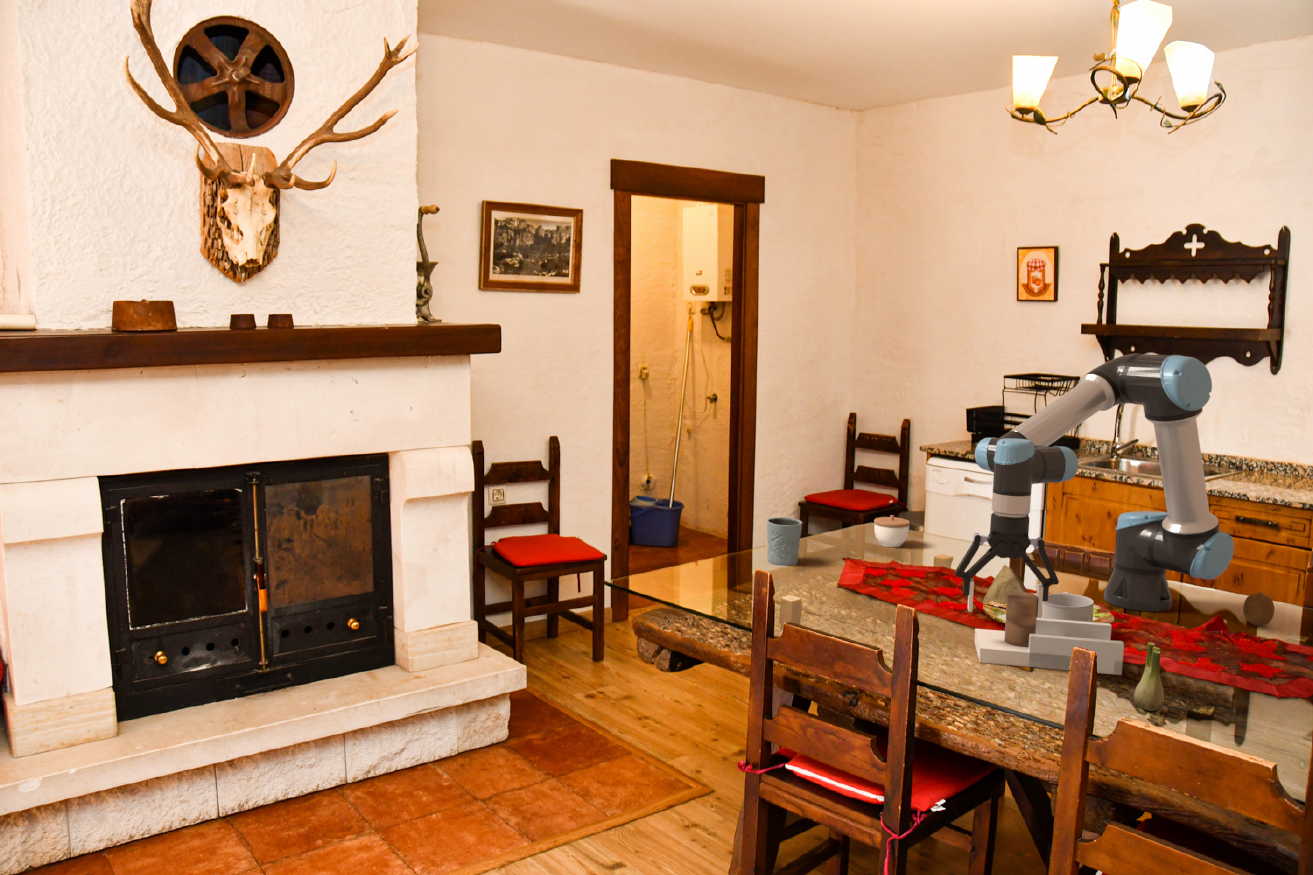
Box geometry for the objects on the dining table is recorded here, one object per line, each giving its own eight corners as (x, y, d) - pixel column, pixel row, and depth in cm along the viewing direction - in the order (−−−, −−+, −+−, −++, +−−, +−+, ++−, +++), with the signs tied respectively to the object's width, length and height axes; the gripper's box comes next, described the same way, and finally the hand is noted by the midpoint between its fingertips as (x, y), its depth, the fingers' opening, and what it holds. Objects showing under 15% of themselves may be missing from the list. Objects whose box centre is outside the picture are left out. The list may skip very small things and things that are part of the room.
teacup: (1087, 644, 212) (1090, 608, 211) (1035, 635, 217) (1037, 600, 216) (1097, 627, 223) (1099, 593, 222) (1047, 618, 229) (1049, 585, 228)
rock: (1045, 603, 234) (1021, 586, 243) (1030, 578, 231) (1006, 562, 240) (1010, 630, 233) (987, 612, 243) (994, 605, 230) (972, 588, 240)
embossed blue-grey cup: (776, 555, 286) (777, 515, 284) (807, 561, 280) (808, 520, 278) (759, 562, 278) (760, 521, 276) (790, 568, 272) (791, 526, 270)
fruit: (1235, 623, 227) (1238, 590, 226) (1253, 620, 230) (1256, 587, 229) (1260, 631, 222) (1264, 597, 221) (1279, 628, 224) (1282, 594, 223)
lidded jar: (874, 548, 296) (875, 518, 295) (872, 540, 307) (873, 511, 306) (910, 550, 295) (911, 519, 294) (907, 541, 305) (908, 512, 304)
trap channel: (1107, 653, 206) (1109, 623, 205) (1121, 675, 194) (1124, 643, 193) (974, 641, 212) (976, 612, 211) (979, 662, 200) (981, 631, 199)
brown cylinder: (1034, 639, 205) (1037, 593, 204) (1035, 648, 200) (1038, 601, 198) (1004, 635, 207) (1007, 590, 206) (1004, 644, 202) (1007, 598, 200)
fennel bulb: (1158, 716, 174) (1163, 652, 172) (1128, 709, 177) (1133, 645, 175) (1167, 707, 178) (1172, 644, 176) (1138, 699, 181) (1143, 637, 180)
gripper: (1071, 514, 202) (1064, 613, 204) (946, 506, 207) (941, 602, 210) (1078, 521, 194) (1070, 623, 197) (948, 512, 200) (942, 612, 203)
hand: (1003, 613), depth 204 cm, fingers open, 13 cm apart
